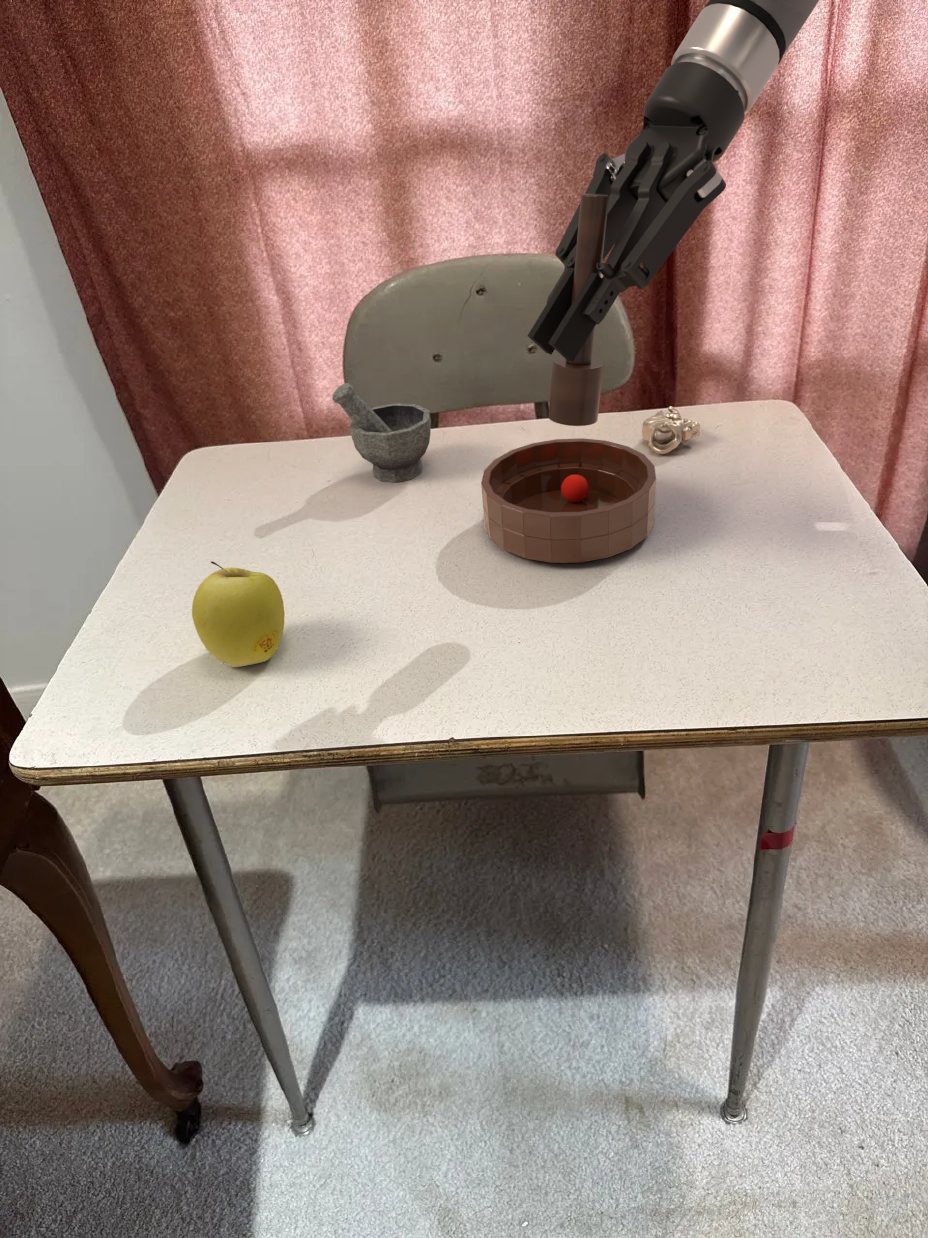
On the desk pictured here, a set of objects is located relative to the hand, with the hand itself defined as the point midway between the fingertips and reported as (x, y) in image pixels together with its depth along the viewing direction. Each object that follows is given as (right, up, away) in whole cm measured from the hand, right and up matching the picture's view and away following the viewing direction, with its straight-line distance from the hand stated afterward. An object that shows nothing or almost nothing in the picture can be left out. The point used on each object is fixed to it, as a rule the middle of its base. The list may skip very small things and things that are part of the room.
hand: (550, 348), depth 70 cm
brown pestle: (+3, -5, +5) cm, 7 cm away
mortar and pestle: (-16, -5, +34) cm, 38 cm away
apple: (-26, -26, +6) cm, 37 cm away
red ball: (+5, -9, +21) cm, 23 cm away
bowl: (+4, -13, +19) cm, 23 cm away
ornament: (+18, -1, +33) cm, 38 cm away
